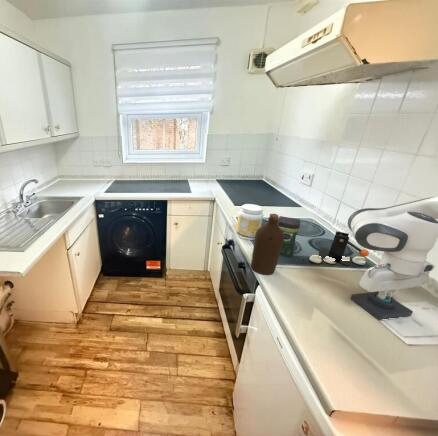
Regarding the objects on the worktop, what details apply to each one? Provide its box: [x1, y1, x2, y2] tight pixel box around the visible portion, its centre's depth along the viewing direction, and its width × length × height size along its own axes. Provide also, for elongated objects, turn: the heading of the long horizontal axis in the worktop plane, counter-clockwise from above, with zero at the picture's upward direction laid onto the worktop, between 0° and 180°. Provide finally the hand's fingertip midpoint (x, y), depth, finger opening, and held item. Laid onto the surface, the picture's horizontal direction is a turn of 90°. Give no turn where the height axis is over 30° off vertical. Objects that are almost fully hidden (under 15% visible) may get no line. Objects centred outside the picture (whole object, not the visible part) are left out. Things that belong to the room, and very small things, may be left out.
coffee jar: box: [277, 215, 301, 258], centre depth 110 cm, size 10×8×19 cm
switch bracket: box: [318, 230, 353, 267], centre depth 106 cm, size 12×9×13 cm
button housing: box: [349, 291, 414, 321], centre depth 80 cm, size 12×10×4 cm
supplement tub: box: [235, 203, 264, 241], centre depth 128 cm, size 12×12×17 cm
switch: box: [339, 233, 370, 258], centre depth 103 cm, size 13×3×3 cm, turn 55°
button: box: [376, 294, 391, 303], centre depth 80 cm, size 4×4×2 cm
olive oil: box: [250, 213, 284, 276], centre depth 97 cm, size 11×11×25 cm
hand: (383, 297), depth 79 cm, fingers closed, pressing on button
